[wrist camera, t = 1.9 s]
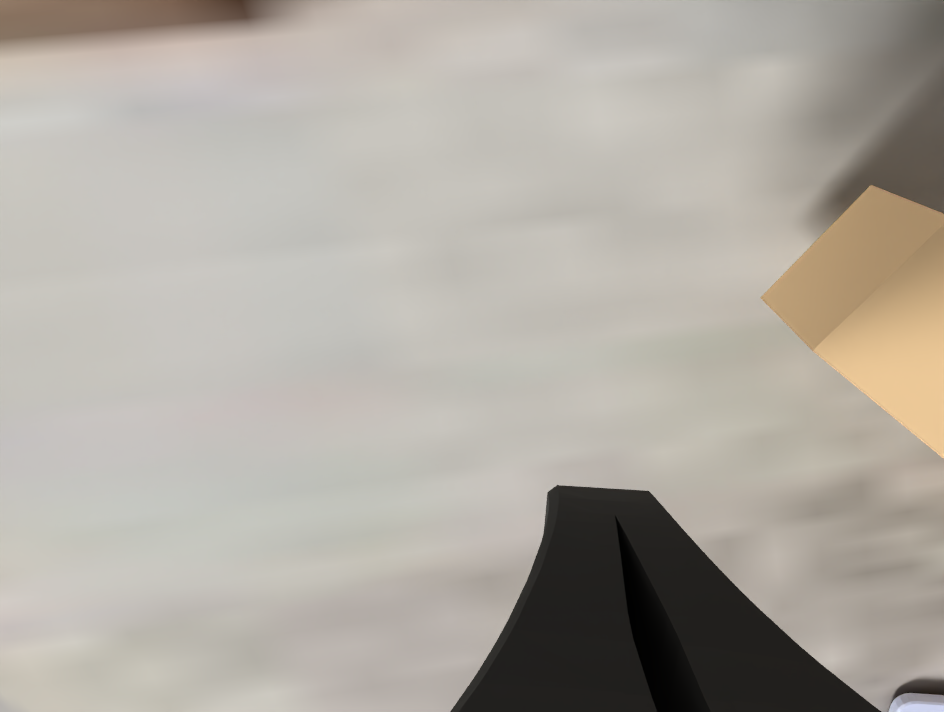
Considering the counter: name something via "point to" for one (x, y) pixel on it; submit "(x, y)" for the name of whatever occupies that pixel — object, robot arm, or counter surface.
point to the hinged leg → (876, 306)
